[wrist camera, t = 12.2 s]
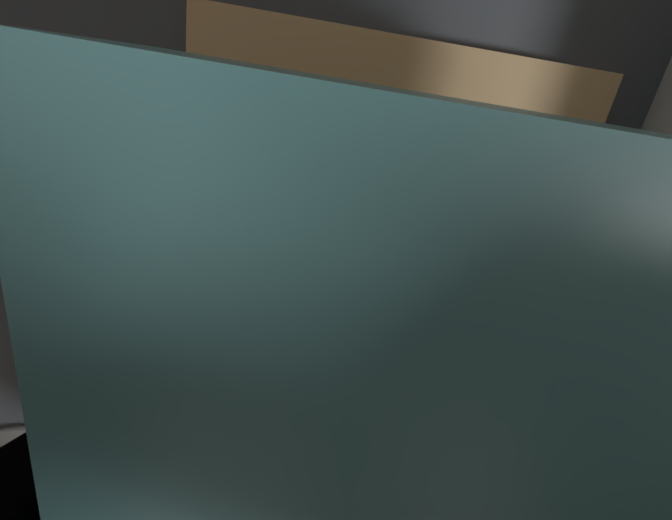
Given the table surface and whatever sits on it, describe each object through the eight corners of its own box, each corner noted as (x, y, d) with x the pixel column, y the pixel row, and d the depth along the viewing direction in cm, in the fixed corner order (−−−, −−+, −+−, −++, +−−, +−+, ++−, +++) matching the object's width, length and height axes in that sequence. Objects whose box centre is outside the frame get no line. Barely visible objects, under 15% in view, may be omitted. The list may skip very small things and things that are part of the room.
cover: (463, 622, 9) (509, 828, 7) (157, 591, 9) (85, 795, 7) (689, 137, 5) (1010, 195, 3) (153, 45, 5) (-44, 17, 2)
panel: (575, 590, 16) (645, 740, 13) (-31, 525, 15) (-149, 670, 11) (958, -34, 8) (1436, -115, 5) (-243, -277, 7) (-844, -638, 4)
